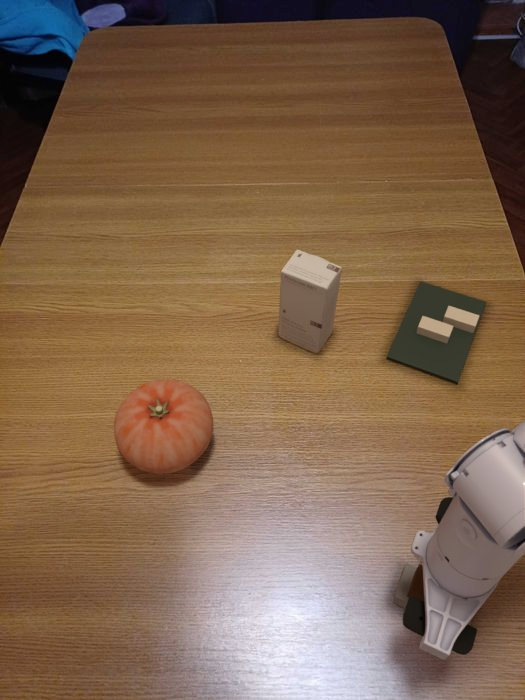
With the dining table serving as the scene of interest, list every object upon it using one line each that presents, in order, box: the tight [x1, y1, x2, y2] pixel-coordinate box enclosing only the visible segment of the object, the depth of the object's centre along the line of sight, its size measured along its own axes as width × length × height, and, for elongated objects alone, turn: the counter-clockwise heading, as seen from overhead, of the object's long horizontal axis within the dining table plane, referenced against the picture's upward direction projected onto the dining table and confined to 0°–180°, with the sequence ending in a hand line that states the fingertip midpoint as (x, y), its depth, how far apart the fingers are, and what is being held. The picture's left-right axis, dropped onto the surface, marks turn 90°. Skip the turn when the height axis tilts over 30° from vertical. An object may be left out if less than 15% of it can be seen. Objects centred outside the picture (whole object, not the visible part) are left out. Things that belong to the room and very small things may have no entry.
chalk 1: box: [416, 316, 453, 344], centre depth 77 cm, size 4×2×1 cm, turn 64°
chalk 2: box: [443, 306, 479, 333], centre depth 78 cm, size 4×2×1 cm, turn 64°
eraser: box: [391, 562, 473, 626], centre depth 57 cm, size 7×4×4 cm, turn 64°
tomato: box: [113, 378, 214, 474], centre depth 67 cm, size 11×11×8 cm
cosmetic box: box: [277, 248, 343, 354], centre depth 74 cm, size 6×4×12 cm
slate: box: [385, 280, 487, 385], centre depth 79 cm, size 9×14×1 cm, turn 154°
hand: (438, 592), depth 57 cm, fingers open, 7 cm apart
